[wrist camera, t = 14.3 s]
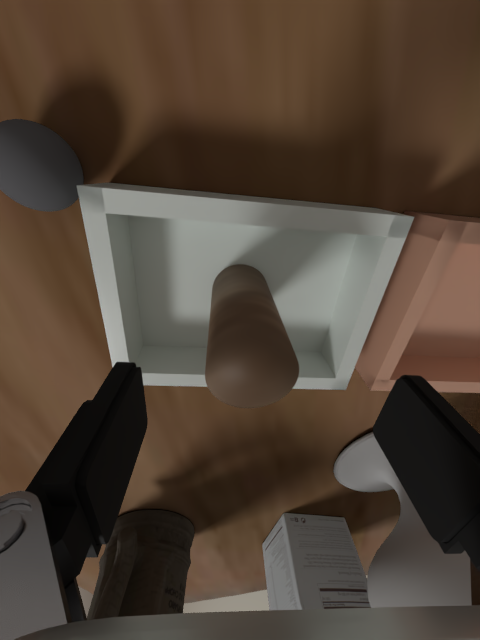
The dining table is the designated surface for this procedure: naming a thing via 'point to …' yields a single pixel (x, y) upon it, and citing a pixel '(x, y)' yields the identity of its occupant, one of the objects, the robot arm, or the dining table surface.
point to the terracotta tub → (429, 309)
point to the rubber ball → (37, 166)
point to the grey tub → (226, 250)
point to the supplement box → (313, 565)
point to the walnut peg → (247, 342)
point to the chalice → (403, 541)
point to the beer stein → (144, 566)
